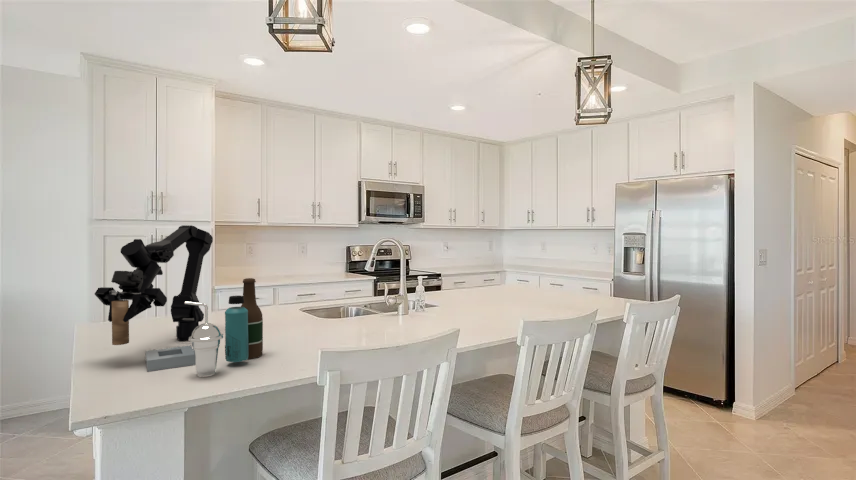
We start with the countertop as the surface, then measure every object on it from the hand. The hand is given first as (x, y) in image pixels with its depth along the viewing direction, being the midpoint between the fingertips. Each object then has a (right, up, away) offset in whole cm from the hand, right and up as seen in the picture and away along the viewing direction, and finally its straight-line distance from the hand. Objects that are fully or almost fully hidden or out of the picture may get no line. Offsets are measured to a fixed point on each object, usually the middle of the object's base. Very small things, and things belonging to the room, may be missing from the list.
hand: (116, 321), depth 129 cm
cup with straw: (+27, -14, -4) cm, 31 cm away
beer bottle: (+32, -13, +13) cm, 37 cm away
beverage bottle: (+32, -14, +5) cm, 35 cm away
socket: (+12, -13, +6) cm, 19 cm away
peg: (0, -7, +2) cm, 7 cm away
